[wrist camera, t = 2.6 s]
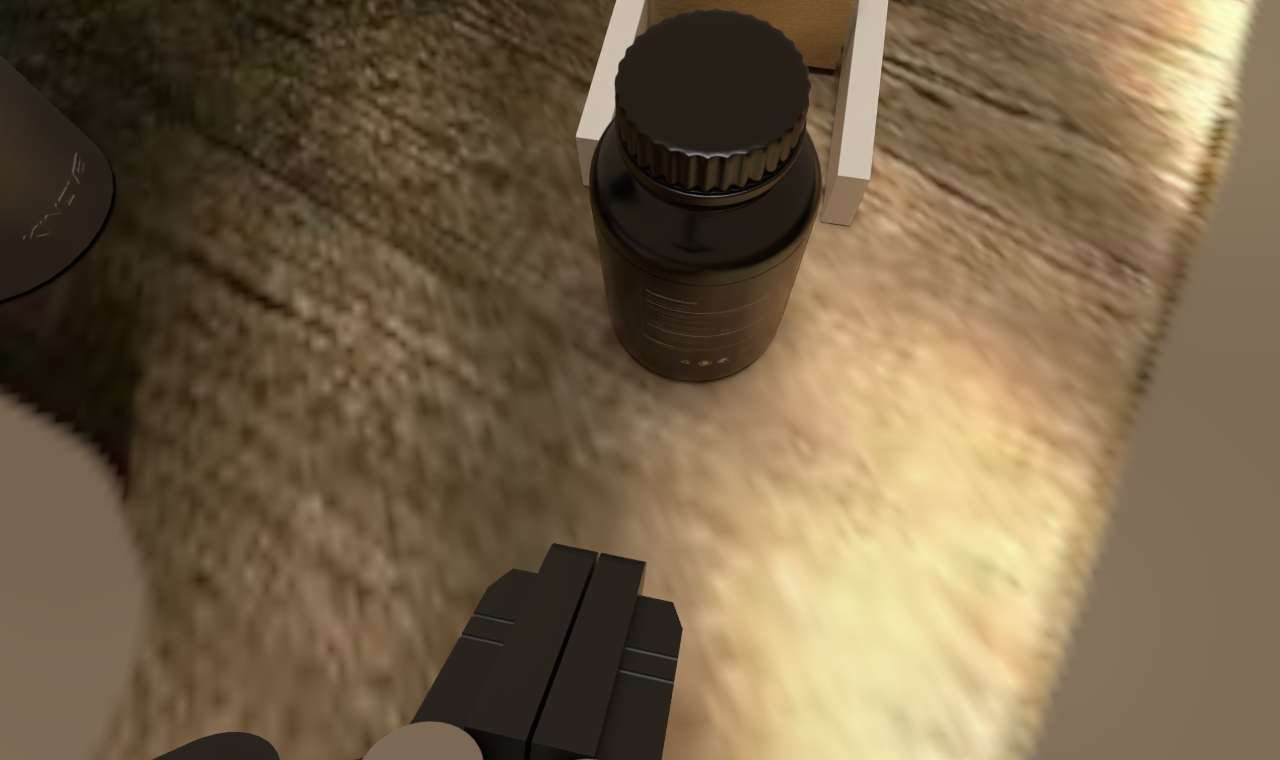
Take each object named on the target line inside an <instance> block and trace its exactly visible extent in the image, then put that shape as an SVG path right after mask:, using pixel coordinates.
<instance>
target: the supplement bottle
mask: <svg viewBox="0 0 1280 760" xmlns="http://www.w3.org/2000/svg"><path fill="white" fill-rule="evenodd" d="M808 74H809V69H808V67H807V66H806V65H805V64H804V62H803V54H801V53H800V52H799V51H798V50H797V49H796V48H795V44H794V42H793V41H792V40H790V39H789V38H787V37H786V36H785V35H784V33H783V31H782V30H780V29H777V28H775V27H773V26H772V25H771V24H770V23H769V22H768V21H764V20H760V19H758V18H756V17H755V16H753V15H752V14H742V13H740V12H738V11H735V10H726V11H724V10H721V9H717V8H715V9H710V10H703V9H697V10H694V11H691V12H680V13H678V14H677V15H675V16H674V17H668V18H664V19H662V20H661V21H660V22H659V23H658V24H655V25H652V26H649V27H648V28H647V30H646V31H645V33H643V34H641V35H639V36H637V37H636V39H635V41H634V44H632V45H631V46H629V47H628V48H627V49H626V52H625V57H624V58H623V59H621V61H620V62H619V64H618V73H617V75H616V77H615V82H614V83H615V106H616V112H615V117H614V118H613V119H612V120H611V122H610V123H609V124H608V126H607V127H606V129H605V130H604V132H603V134H602V135H601V137H600V139H599V141H598V143H597V146H596V148H595V150H594V153H593V157H592V160H591V166H590V172H589V190H590V201H591V207H592V213H593V219H594V225H595V231H596V237H597V243H598V249H599V255H600V261H601V267H602V273H603V279H604V285H605V291H606V297H607V303H608V308H609V313H610V317H611V321H612V324H613V327H614V329H615V331H616V334H617V336H618V337H619V339H620V341H621V342H622V344H623V345H624V347H625V348H626V349H627V350H628V351H629V353H630V354H631V355H632V356H633V357H635V358H636V359H637V360H638V361H639V362H641V363H642V364H643V365H645V366H646V367H648V368H649V369H651V370H653V371H655V372H657V373H660V374H662V375H665V376H668V377H671V378H675V379H680V380H688V381H704V380H712V379H717V378H721V377H725V376H727V375H730V374H733V373H735V372H737V371H739V370H741V369H743V368H744V367H746V366H747V365H749V364H750V363H752V362H753V361H754V360H755V359H756V358H758V357H759V356H760V355H761V354H762V353H763V351H764V350H765V349H766V348H767V347H768V345H769V344H770V342H771V341H772V339H773V337H774V335H775V333H776V331H777V329H778V327H779V324H780V321H781V319H782V316H783V313H784V310H785V307H786V304H787V301H788V299H789V296H790V293H791V290H792V287H793V284H794V281H795V278H796V275H797V272H798V269H799V266H800V263H801V260H802V257H803V254H804V251H805V248H806V245H807V242H808V239H809V236H810V233H811V230H812V227H813V224H814V221H815V218H816V215H817V211H818V208H819V203H820V199H821V193H822V169H821V163H820V159H819V155H818V152H817V149H816V146H815V144H814V142H813V140H812V138H811V136H810V134H809V132H808V131H807V129H806V115H807V111H808V107H809V95H810V91H811V83H810V81H809V79H808Z"/></svg>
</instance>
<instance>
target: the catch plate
mask: <svg viewBox="0 0 1280 760" xmlns="http://www.w3.org/2000/svg"><path fill="white" fill-rule="evenodd" d="M854 3H855V0H653V25H655V24H658V23H659V22H660V21H661V20H662V19H664V18H668V17H674V16H675V15H677V14H678V13H680V12H691V11H694V10H697V9H703V10H710V9H715V8H717V9H721V10H724V11H726V10H735V11H738V12H740V13H742V14H752V15H753V16H755V17H756V18H758V19H760V20H764V21H768V22H769V23H770V24H771V25H772V26H773V27H775V28H777V29H780V30H782V31H783V33H784V35H785V36H786V37H787V38H789V39H790V40H792V41H793V42H794V44H795V48H796V49H797V50H798V51H799V52H800V53H801V54H803V62H804V64H805V65H806V66H812V67H819V68H827V69H834V70H835V69H836V65H837V62H838V58H839V55H840V52H841V48H842V45H843V41H844V38H845V34H846V31H847V27H848V24H849V21H850V17H851V14H852V10H853V7H854Z"/></svg>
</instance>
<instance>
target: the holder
mask: <svg viewBox="0 0 1280 760" xmlns="http://www.w3.org/2000/svg"><path fill="white" fill-rule="evenodd" d="M887 7H888V0H855V3H854V7H853V10H852V14H851V17H850V21H849V24H848V27H847V31H846V34H845V42H844V50H843V57H842V65H841V73H840V80H839V88H838V96H837V103H836V111H835V119H834V126H833V134H832V142H831V149H830V157H829V165H828V172H827V180H826V188H825V195H824V203H823V211H822V219H821V222H826V223H833V224H840V225H846V226H850V225H851V223H852V221H853V218H854V216H855V214H856V211H857V209H858V206H859V204H860V202H861V199H862V197H863V195H864V192H865V190H866V188H867V185H868V183H869V181H870V173H871V163H872V154H873V144H874V134H875V124H876V115H877V105H878V95H879V85H880V75H881V66H882V56H883V46H884V36H885V27H886V17H887ZM652 25H653V0H617V1H616V4H615V7H614V11H613V14H612V17H611V21H610V24H609V27H608V31H607V34H606V37H605V41H604V44H603V47H602V51H601V54H600V57H599V61H598V64H597V67H596V71H595V74H594V77H593V81H592V84H591V87H590V91H589V94H588V97H587V101H586V104H585V107H584V111H583V114H582V118H581V121H580V124H579V128H578V131H577V134H576V142H577V148H578V155H579V161H580V167H581V174H582V180H583V185H584V186H589V172H590V166H591V160H592V157H593V153H594V150H595V148H596V146H597V143H598V141H599V139H600V137H601V135H602V134H603V132H604V130H605V129H606V127H607V126H608V124H609V123H610V122H611V120H612V119H613V118H614V117H615V112H616V106H615V83H614V82H615V77H616V75H617V73H618V64H619V62H620V61H621V59H623V58H624V57H625V52H626V49H627V48H628V47H629V46H631V45H632V44H634V41H635V39H636V37H637V36H639V35H641V34H643V33H645V31H646V30H647V28H648V27H649V26H652Z"/></svg>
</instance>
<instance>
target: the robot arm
mask: <svg viewBox="0 0 1280 760" xmlns="http://www.w3.org/2000/svg"><path fill="white" fill-rule="evenodd" d="M112 194H113V178H112V171H111V169H110V166H109V163H108V161H107V158H106V157H105V156H104V154H103V153H102V152H101V150H100V149H99V148H98V147H97V145H95V144H94V143H93V142H92V141H91V140H90V139H89V138H88V137H87V136H86V135H85V134H84V133H83V132H82V131H80V130H79V129H78V128H77V127H76V126H75V125H74V124H73V123H72V122H71V121H70V120H69V119H68V118H67V117H65V116H64V115H63V114H62V113H61V112H60V111H59V110H58V109H57V108H56V107H55V106H54V105H53V104H51V103H50V102H49V101H48V100H47V99H46V98H45V97H44V96H43V95H42V94H41V93H40V92H39V91H38V90H36V89H35V88H34V87H33V86H32V85H31V84H30V83H29V82H28V81H27V80H26V79H25V78H24V77H23V76H22V75H21V74H20V73H19V72H18V71H17V70H16V69H15V68H13V67H12V66H11V65H10V64H9V63H8V62H7V61H6V60H5V59H4V58H3V57H2V56H1V55H0V300H4V299H7V298H9V297H12V296H15V295H18V294H21V293H23V292H26V291H28V290H30V289H32V288H34V287H36V286H38V285H39V284H41V283H43V282H45V281H47V280H49V279H50V278H52V277H53V276H54V275H56V274H57V273H58V272H60V271H61V270H63V269H64V268H65V267H67V266H68V265H69V264H71V263H72V262H73V261H74V260H75V259H76V258H77V257H78V255H79V254H80V253H81V252H82V251H83V250H84V249H85V248H86V247H87V246H88V245H89V244H90V242H91V241H92V239H93V238H94V237H95V235H96V234H97V232H98V231H99V230H100V228H101V226H102V224H103V222H104V220H105V217H106V215H107V213H108V211H109V209H110V204H111V199H112ZM645 572H646V562H643V561H639V560H634V559H629V558H624V557H619V556H614V555H610V554H605V553H601V555H600V557H599V553H598V552H594V551H589V550H585V549H580V548H575V547H570V546H565V545H561V544H556V543H553V544H552V546H551V547H550V549H549V551H548V553H547V555H546V557H545V559H544V561H543V564H542V566H541V568H540V570H539V572H538V574H536V573H532V572H527V571H522V570H518V569H512V570H511V571H509V572H508V573H507V574H505V575H504V576H502V577H501V578H500V579H498V580H497V581H496V582H494V583H493V584H492V585H490V586H489V587H488V588H487V590H486V592H485V594H484V595H483V597H482V599H481V601H480V603H479V604H478V606H477V608H476V610H475V611H474V615H473V617H471V618H470V620H469V622H468V624H467V625H466V627H465V629H464V631H463V632H462V637H461V638H459V639H458V641H457V643H456V645H455V647H454V648H453V650H452V652H451V654H450V655H449V657H448V659H447V661H446V662H445V664H444V666H443V668H442V669H441V671H440V673H439V675H438V676H437V678H436V680H435V682H434V683H433V685H432V687H431V689H430V691H429V692H428V694H427V696H426V698H425V699H424V701H423V703H422V705H421V706H420V708H419V710H418V712H417V713H416V715H415V717H414V718H413V720H412V721H411V723H410V724H409V725H407V726H404V727H401V728H399V729H397V730H395V731H393V732H391V733H389V734H388V735H386V736H385V737H383V738H382V739H380V740H379V741H378V742H377V743H376V744H375V745H374V746H373V747H372V748H371V749H370V750H369V751H368V753H367V754H366V755H365V756H364V757H363V758H360V759H357V760H661V759H662V753H663V747H664V741H665V735H666V728H667V722H668V716H669V710H670V704H671V698H672V691H673V685H674V679H675V673H676V667H677V660H678V654H679V648H680V642H681V636H682V630H683V629H682V626H681V623H680V620H679V618H678V615H677V612H676V609H675V607H674V604H673V602H669V601H664V600H660V599H655V598H650V597H645V596H642V592H643V585H644V579H645ZM153 760H280V759H279V756H278V753H277V752H276V750H275V749H274V747H273V746H272V745H271V744H270V743H269V742H268V741H267V740H265V739H263V738H261V737H259V736H256V735H253V734H250V733H243V732H226V733H219V734H214V735H210V736H207V737H203V738H201V739H198V740H195V741H193V742H190V743H188V744H186V745H184V746H181V747H179V748H177V749H175V750H173V751H170V752H168V753H166V754H164V755H161V756H159V757H157V758H155V759H153Z"/></svg>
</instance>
